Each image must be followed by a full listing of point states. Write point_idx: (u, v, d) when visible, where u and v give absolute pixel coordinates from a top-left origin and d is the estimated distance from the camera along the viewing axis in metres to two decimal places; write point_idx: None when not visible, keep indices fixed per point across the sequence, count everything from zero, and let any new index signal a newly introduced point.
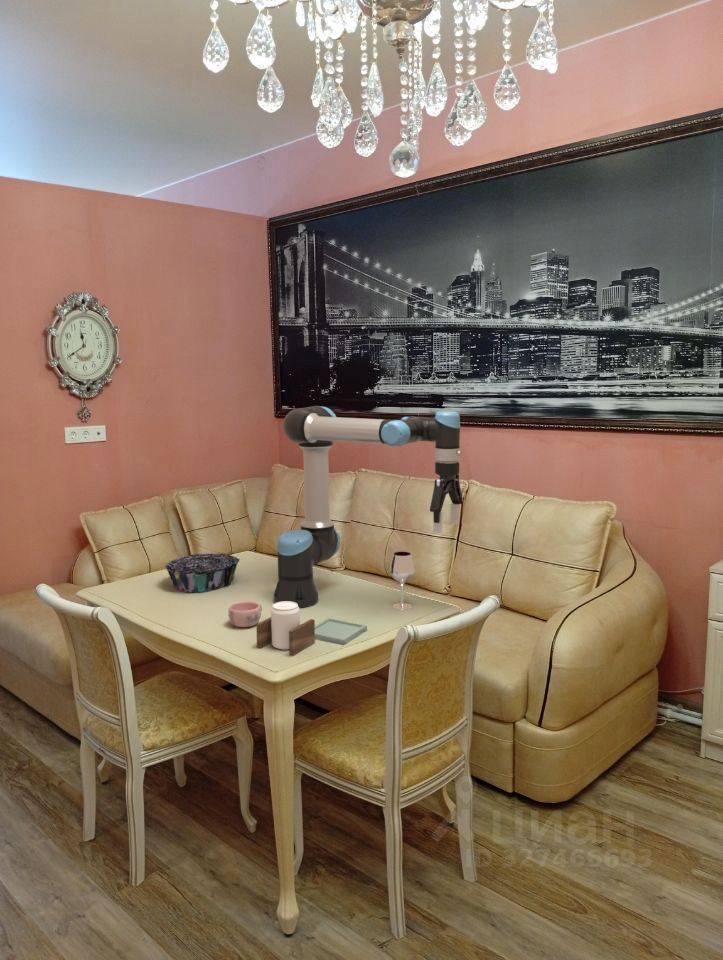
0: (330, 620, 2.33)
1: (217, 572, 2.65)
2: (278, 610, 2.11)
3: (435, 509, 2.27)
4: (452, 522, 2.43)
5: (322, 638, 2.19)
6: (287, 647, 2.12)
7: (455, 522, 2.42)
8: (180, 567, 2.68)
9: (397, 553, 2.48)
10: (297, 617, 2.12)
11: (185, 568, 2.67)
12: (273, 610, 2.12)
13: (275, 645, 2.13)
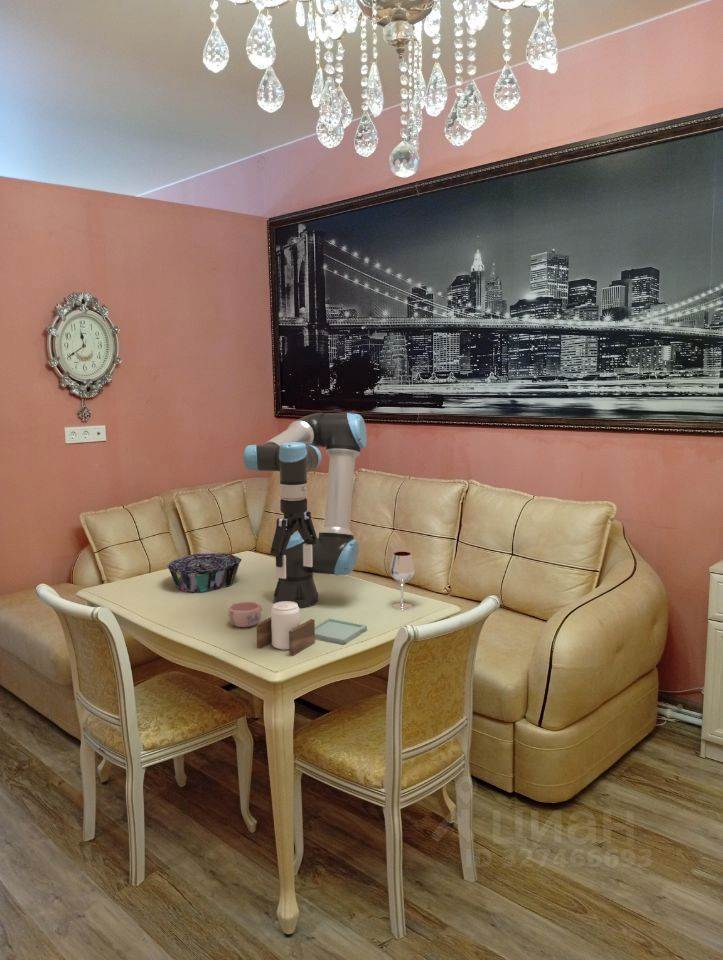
0: (330, 620, 2.33)
1: (219, 572, 2.65)
2: (278, 610, 2.11)
3: (275, 552, 2.03)
4: (305, 564, 2.19)
5: (322, 638, 2.19)
6: (287, 647, 2.12)
7: (308, 564, 2.19)
8: (182, 567, 2.68)
9: (397, 553, 2.48)
10: (297, 617, 2.12)
11: (187, 568, 2.67)
12: (273, 610, 2.12)
13: (275, 645, 2.13)
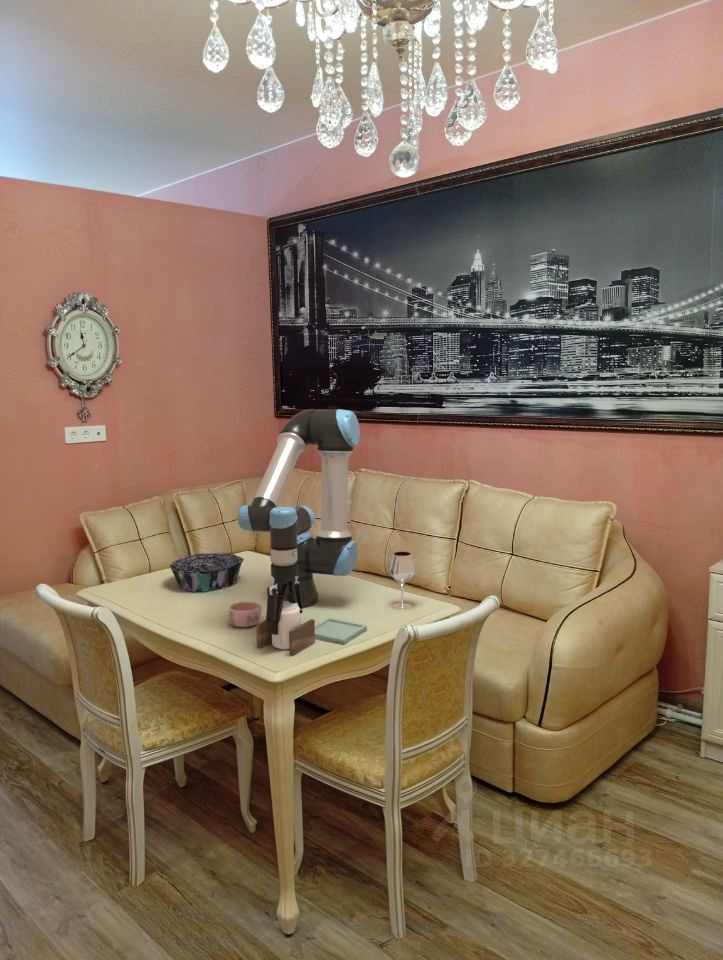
0: (330, 620, 2.33)
1: (221, 572, 2.65)
2: None
3: (271, 622, 2.07)
4: None
5: (322, 638, 2.19)
6: (287, 647, 2.12)
7: None
8: (184, 566, 2.69)
9: (397, 553, 2.48)
10: (297, 617, 2.12)
11: (189, 567, 2.67)
12: None
13: (275, 645, 2.13)
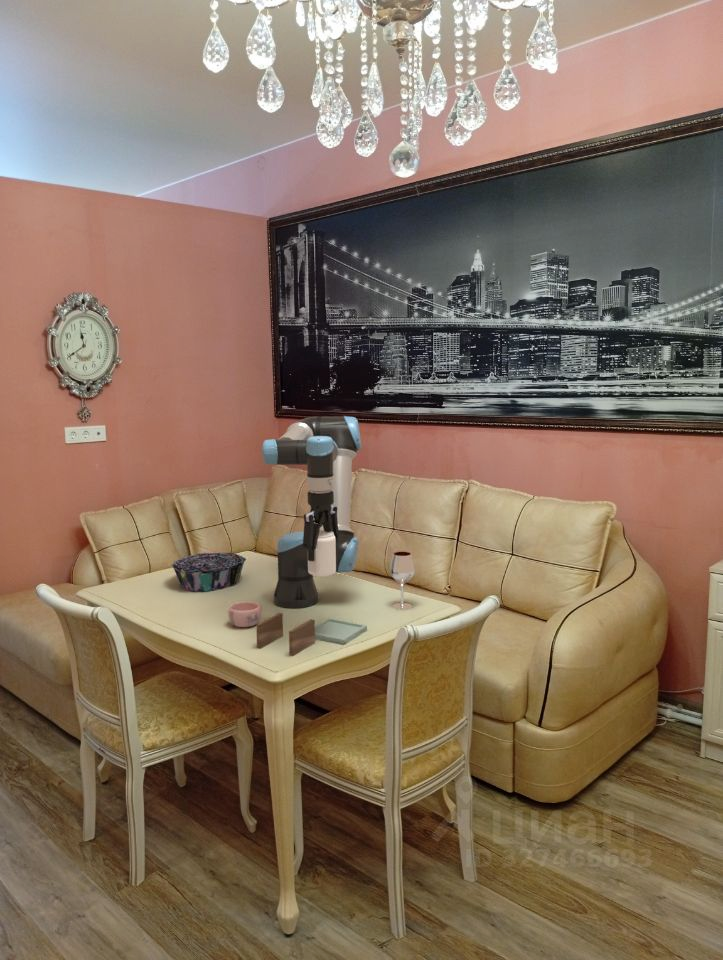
0: (330, 620, 2.33)
1: (223, 571, 2.65)
2: None
3: (308, 548, 2.11)
4: None
5: (322, 638, 2.19)
6: (323, 574, 2.15)
7: None
8: (186, 566, 2.69)
9: (397, 553, 2.48)
10: (333, 545, 2.16)
11: (191, 567, 2.68)
12: None
13: (311, 572, 2.17)
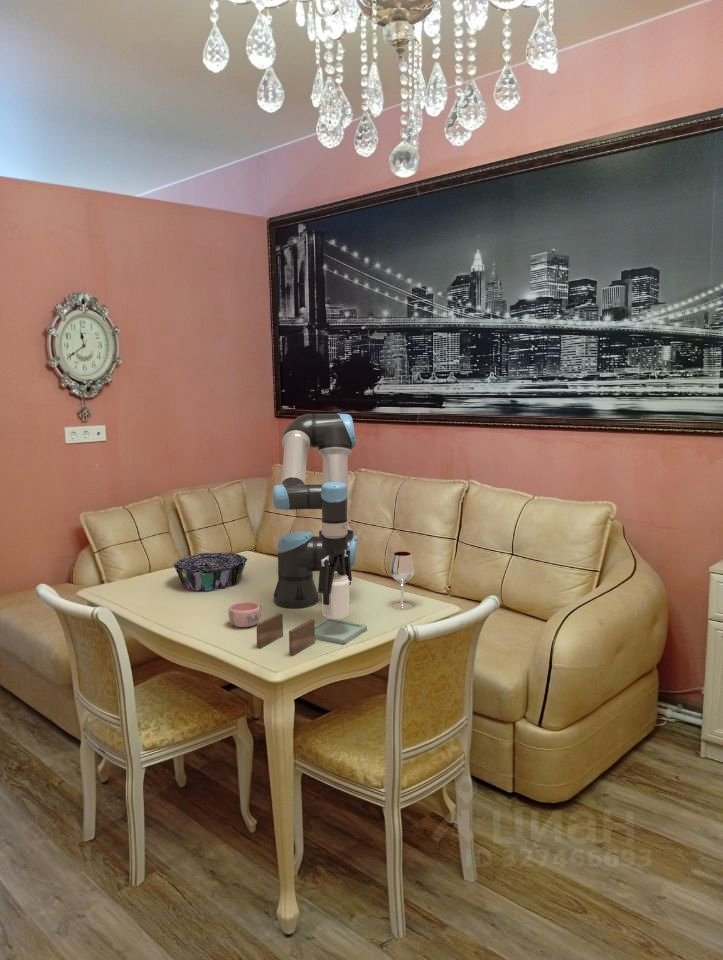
0: (330, 620, 2.33)
1: (224, 571, 2.66)
2: None
3: (323, 592, 2.16)
4: None
5: (322, 638, 2.19)
6: (338, 617, 2.20)
7: None
8: (188, 566, 2.70)
9: (397, 553, 2.48)
10: (347, 588, 2.21)
11: (193, 567, 2.68)
12: None
13: (326, 615, 2.21)
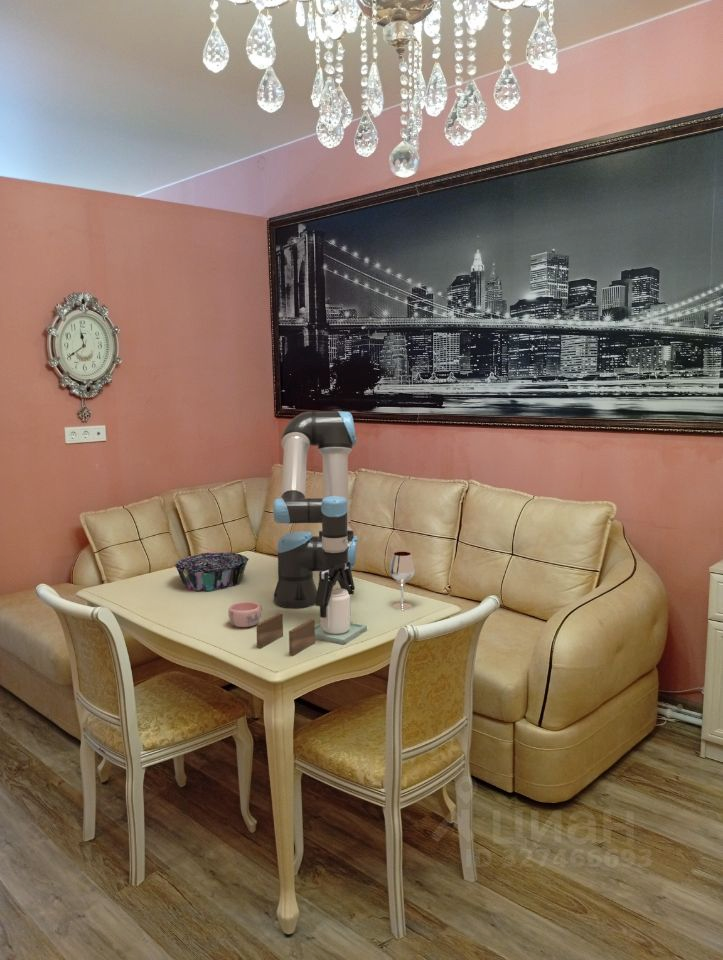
0: None
1: (225, 571, 2.66)
2: (330, 596, 2.20)
3: (320, 604, 2.15)
4: None
5: (322, 638, 2.19)
6: (338, 632, 2.21)
7: None
8: (189, 566, 2.70)
9: (397, 553, 2.48)
10: (347, 603, 2.22)
11: (194, 567, 2.68)
12: None
13: (326, 630, 2.22)
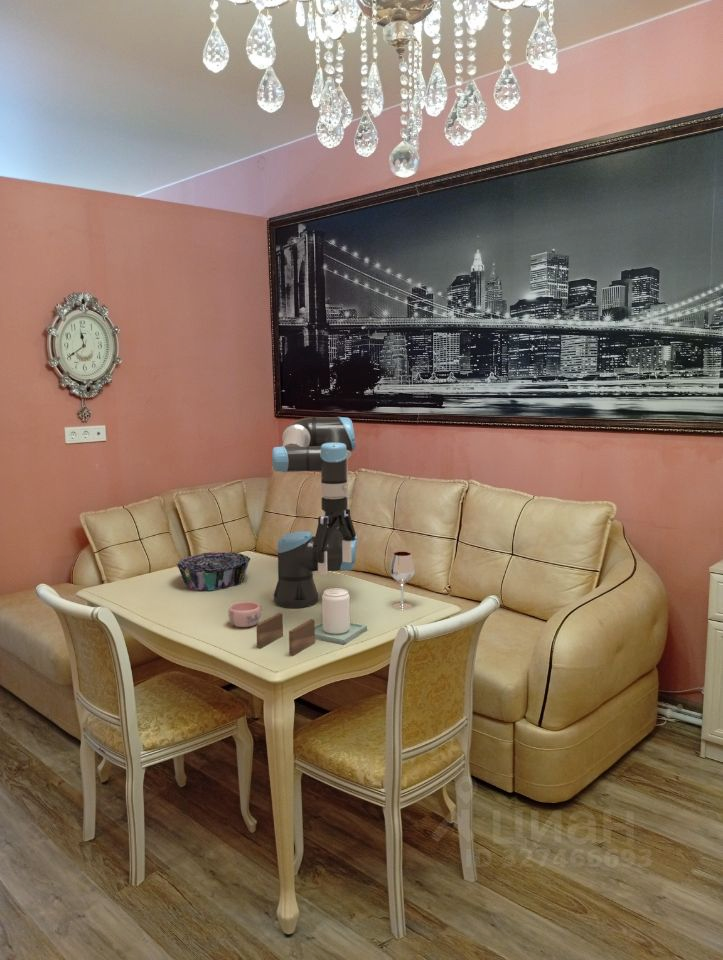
0: None
1: (227, 571, 2.66)
2: (330, 596, 2.20)
3: (317, 549, 2.11)
4: (344, 560, 2.27)
5: (322, 638, 2.19)
6: (338, 632, 2.21)
7: (347, 560, 2.27)
8: (191, 565, 2.70)
9: (397, 553, 2.48)
10: (347, 603, 2.22)
11: (196, 566, 2.69)
12: (325, 596, 2.21)
13: (326, 630, 2.22)
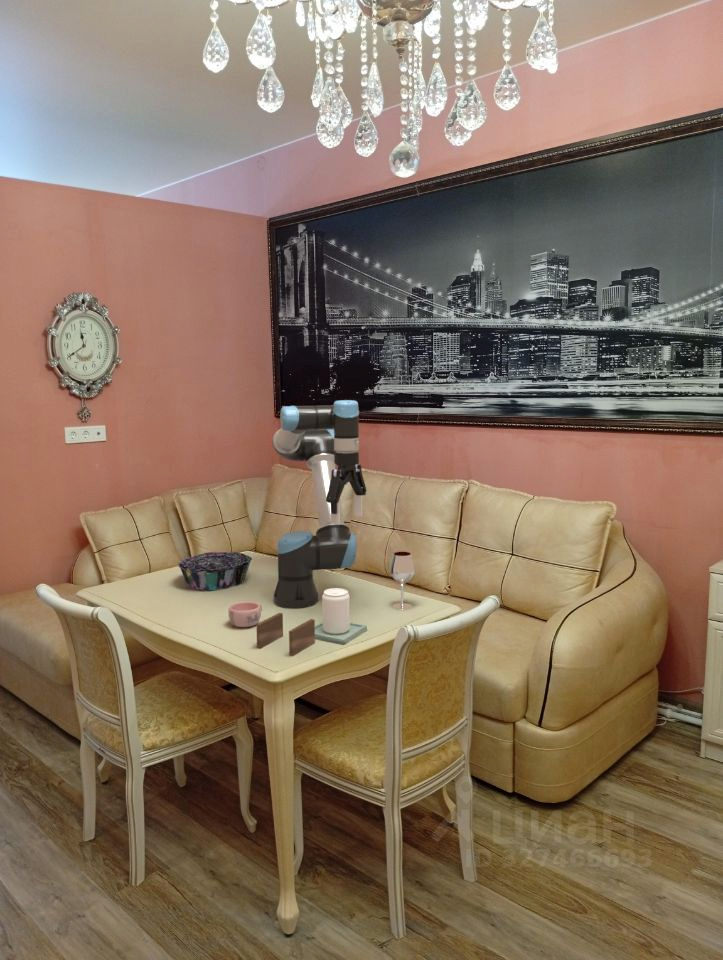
0: None
1: (228, 571, 2.66)
2: (330, 596, 2.20)
3: (331, 500, 2.22)
4: (355, 514, 2.38)
5: (322, 638, 2.19)
6: (338, 632, 2.21)
7: (358, 514, 2.38)
8: (192, 565, 2.71)
9: (397, 553, 2.48)
10: (347, 603, 2.22)
11: (197, 566, 2.69)
12: (325, 596, 2.21)
13: (326, 630, 2.22)
